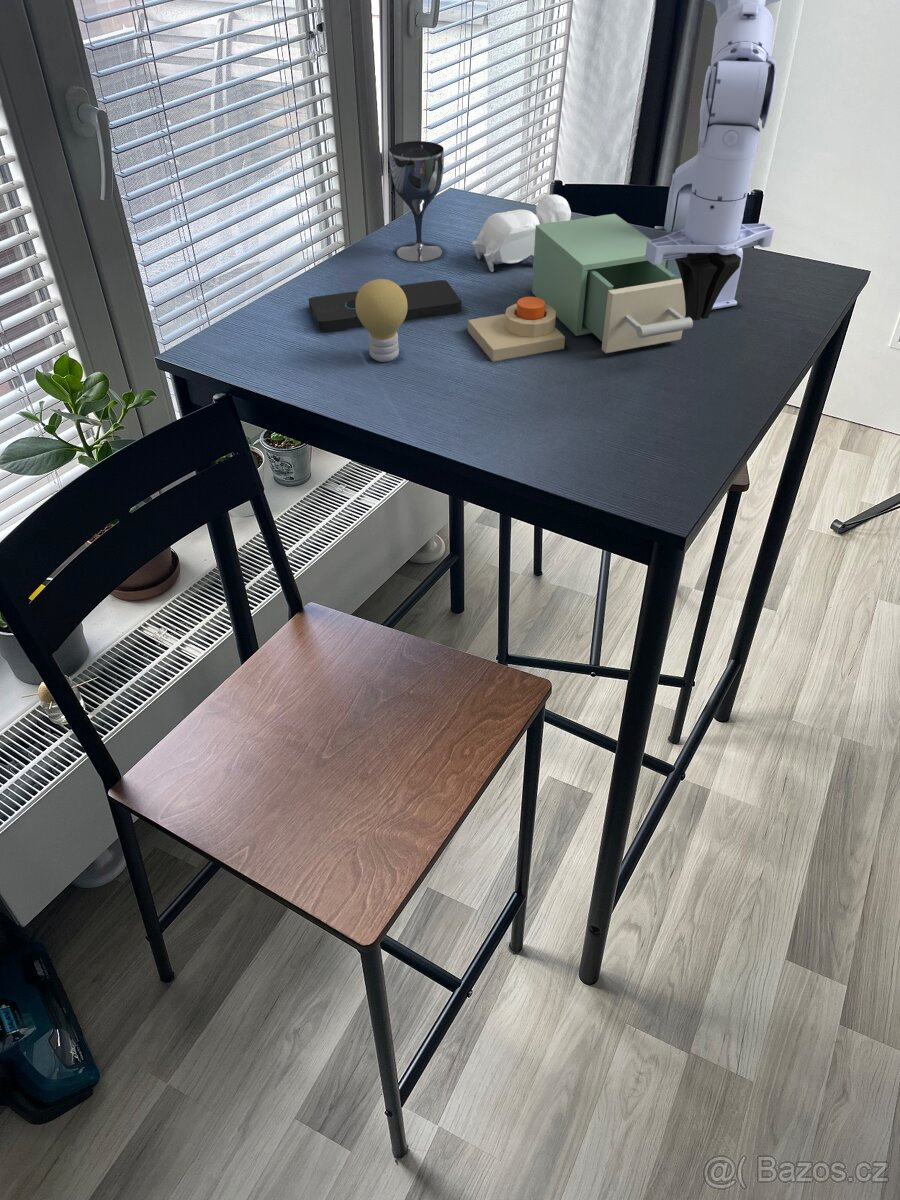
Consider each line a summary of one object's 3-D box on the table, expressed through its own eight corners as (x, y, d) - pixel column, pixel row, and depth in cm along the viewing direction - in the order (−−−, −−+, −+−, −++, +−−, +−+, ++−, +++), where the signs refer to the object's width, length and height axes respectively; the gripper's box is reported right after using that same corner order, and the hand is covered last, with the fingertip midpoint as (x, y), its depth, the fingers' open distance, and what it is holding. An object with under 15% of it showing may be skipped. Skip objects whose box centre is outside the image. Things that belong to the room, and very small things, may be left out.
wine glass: (392, 243, 145) (387, 142, 135) (442, 241, 146) (441, 140, 136) (394, 263, 140) (389, 158, 130) (446, 261, 140) (446, 157, 130)
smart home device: (307, 296, 127) (445, 277, 131) (308, 308, 128) (445, 289, 133) (318, 321, 121) (462, 301, 126) (319, 333, 122) (462, 313, 127)
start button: (537, 307, 121) (538, 294, 120) (548, 318, 118) (549, 305, 117) (512, 311, 120) (512, 298, 119) (523, 323, 117) (523, 310, 116)
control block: (537, 319, 125) (539, 295, 123) (566, 348, 119) (568, 323, 117) (467, 331, 123) (467, 306, 120) (492, 362, 116) (493, 336, 114)
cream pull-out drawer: (700, 355, 115) (711, 296, 110) (623, 370, 113) (631, 310, 107) (631, 297, 128) (638, 241, 123) (560, 309, 125) (564, 253, 120)
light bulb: (371, 374, 114) (366, 296, 108) (351, 352, 118) (345, 277, 112) (417, 362, 116) (415, 286, 110) (396, 341, 121) (393, 267, 114)
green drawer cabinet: (656, 322, 124) (667, 251, 118) (575, 336, 121) (582, 265, 115) (607, 280, 135) (614, 213, 128) (531, 292, 132) (535, 224, 125)
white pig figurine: (501, 293, 138) (588, 243, 138) (483, 244, 132) (573, 192, 132) (480, 272, 144) (563, 224, 144) (462, 224, 138) (548, 174, 138)
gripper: (677, 213, 91) (657, 341, 100) (801, 195, 94) (771, 320, 104) (643, 191, 96) (627, 314, 105) (762, 174, 99) (736, 295, 108)
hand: (696, 315), depth 105 cm, fingers closed
